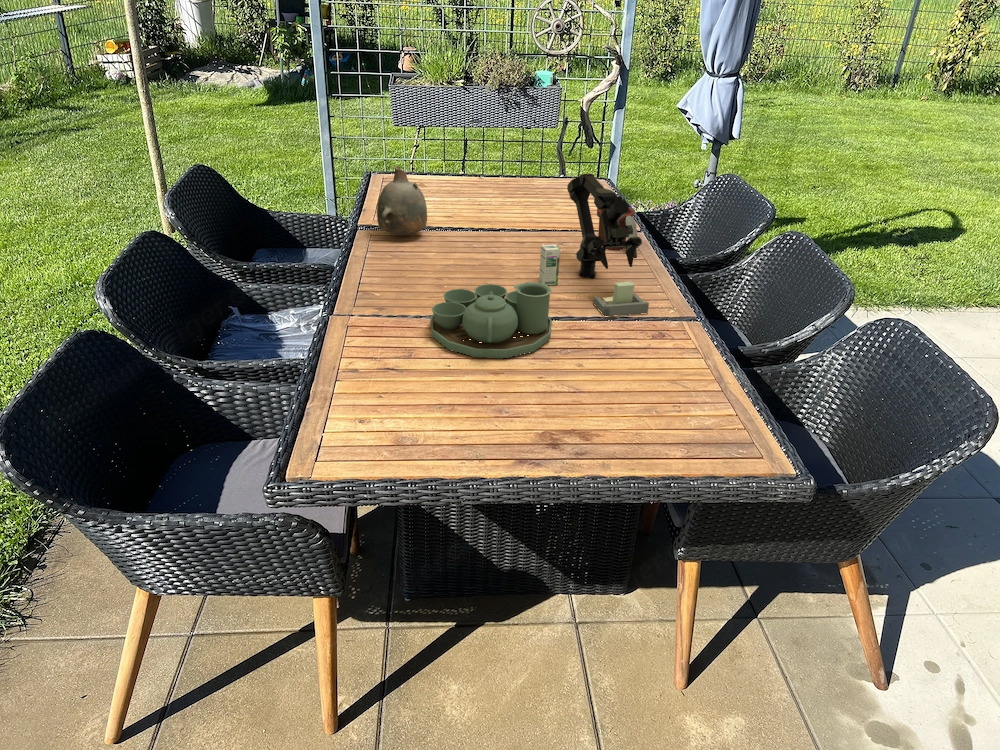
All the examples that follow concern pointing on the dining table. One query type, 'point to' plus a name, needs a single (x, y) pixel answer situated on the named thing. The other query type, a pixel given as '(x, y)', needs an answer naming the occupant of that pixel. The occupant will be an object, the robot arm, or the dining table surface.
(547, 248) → the syrup box
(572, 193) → the robot arm
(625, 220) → the potted plant
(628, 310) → the frame
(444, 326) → the tea set
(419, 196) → the jug
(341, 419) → the dining table surface
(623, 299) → the green block
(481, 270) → the dining table surface
